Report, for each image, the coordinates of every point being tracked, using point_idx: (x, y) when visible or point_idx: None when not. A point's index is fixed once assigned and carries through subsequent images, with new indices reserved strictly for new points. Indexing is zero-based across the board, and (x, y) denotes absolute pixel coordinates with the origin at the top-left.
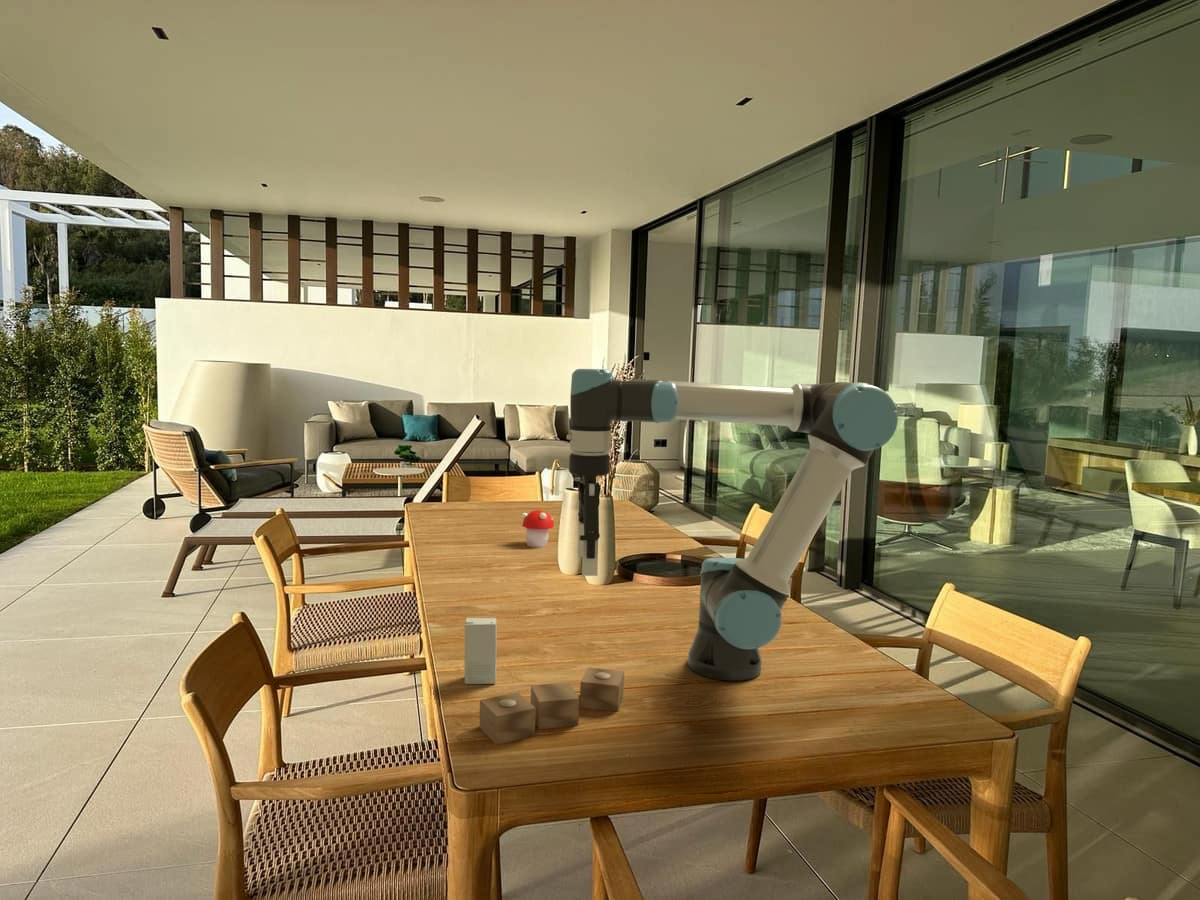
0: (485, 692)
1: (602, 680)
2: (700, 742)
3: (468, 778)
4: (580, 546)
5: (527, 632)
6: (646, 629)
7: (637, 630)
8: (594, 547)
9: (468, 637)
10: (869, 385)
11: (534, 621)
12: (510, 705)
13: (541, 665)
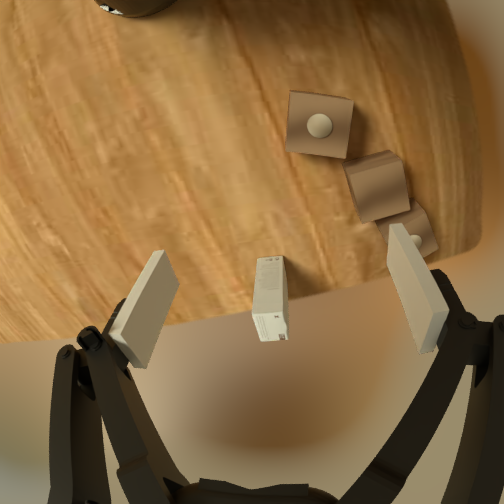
0: (306, 261)
1: (336, 125)
2: (412, 9)
3: (472, 244)
4: (167, 302)
5: (110, 245)
6: (45, 105)
7: (51, 115)
8: (457, 299)
9: (288, 322)
10: None
11: (78, 243)
12: (419, 240)
13: (206, 212)
